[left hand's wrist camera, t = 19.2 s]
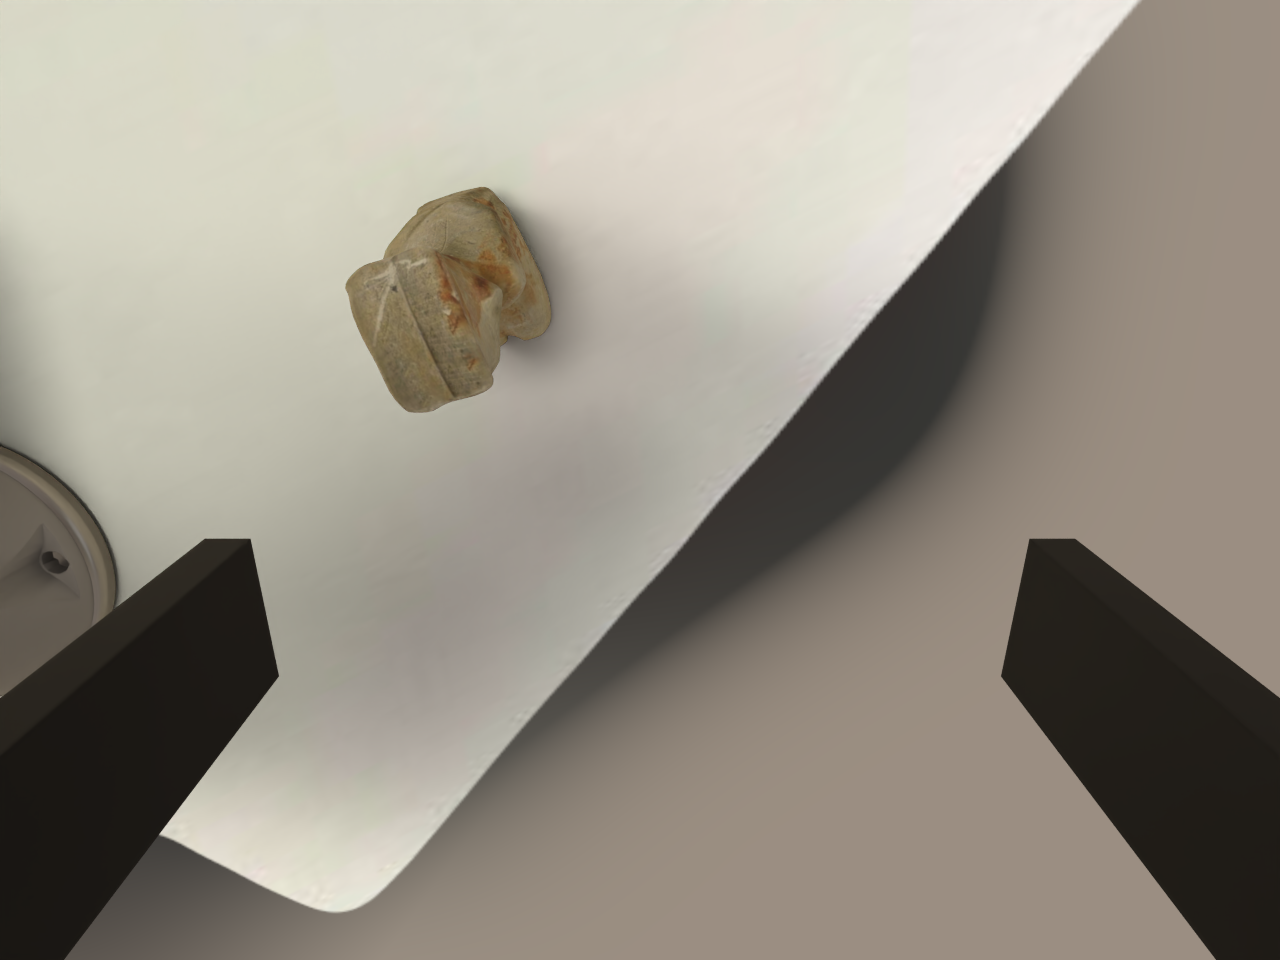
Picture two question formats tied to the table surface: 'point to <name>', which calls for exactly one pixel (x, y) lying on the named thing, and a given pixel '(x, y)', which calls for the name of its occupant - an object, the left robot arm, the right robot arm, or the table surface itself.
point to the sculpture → (448, 299)
